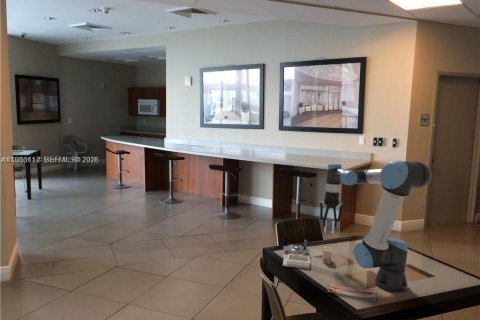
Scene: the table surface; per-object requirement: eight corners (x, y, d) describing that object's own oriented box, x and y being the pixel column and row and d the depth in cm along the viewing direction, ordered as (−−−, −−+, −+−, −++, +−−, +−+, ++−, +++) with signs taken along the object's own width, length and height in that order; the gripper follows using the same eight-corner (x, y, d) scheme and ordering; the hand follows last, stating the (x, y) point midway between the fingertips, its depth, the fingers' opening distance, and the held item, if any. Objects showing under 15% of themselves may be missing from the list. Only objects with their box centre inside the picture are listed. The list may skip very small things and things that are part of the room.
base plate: (309, 268, 202) (309, 263, 202) (282, 265, 204) (283, 260, 204) (307, 250, 232) (308, 245, 231) (284, 247, 234) (285, 243, 233)
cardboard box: (330, 263, 212) (331, 251, 211) (323, 263, 212) (324, 250, 212) (329, 259, 219) (330, 247, 218) (322, 258, 219) (323, 246, 219)
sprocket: (314, 256, 219) (315, 244, 218) (290, 257, 214) (291, 245, 213) (301, 247, 234) (302, 235, 233) (278, 248, 228) (279, 237, 228)
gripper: (346, 191, 214) (343, 232, 216) (316, 188, 216) (313, 229, 219) (348, 193, 207) (345, 236, 209) (317, 191, 209) (314, 233, 211)
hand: (328, 232), depth 214 cm, fingers open, 3 cm apart
